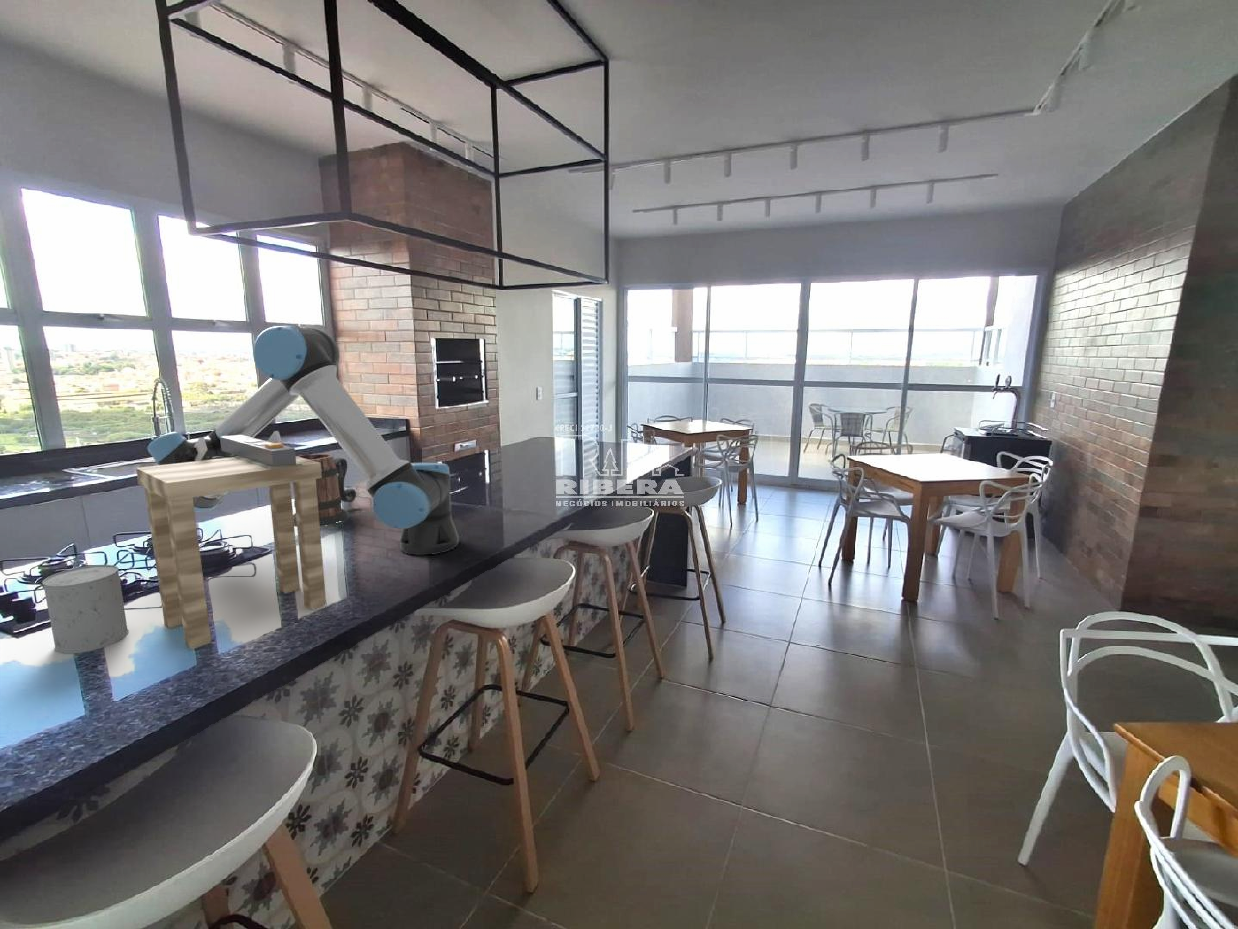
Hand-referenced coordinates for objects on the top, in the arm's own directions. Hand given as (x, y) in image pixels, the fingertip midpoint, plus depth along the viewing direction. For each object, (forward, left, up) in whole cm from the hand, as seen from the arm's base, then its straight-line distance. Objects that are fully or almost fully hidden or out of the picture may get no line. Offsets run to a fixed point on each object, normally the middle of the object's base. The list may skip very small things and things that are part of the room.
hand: (242, 439), depth 114 cm
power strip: (-5, +4, -3) cm, 7 cm away
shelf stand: (-5, +12, -33) cm, 35 cm away
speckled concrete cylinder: (+16, +22, -33) cm, 43 cm away
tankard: (+11, -56, -33) cm, 66 cm away
